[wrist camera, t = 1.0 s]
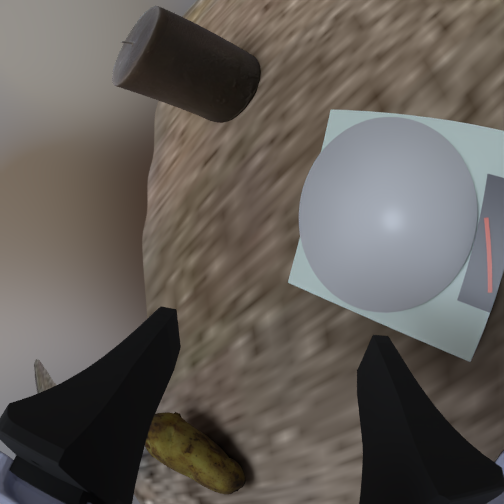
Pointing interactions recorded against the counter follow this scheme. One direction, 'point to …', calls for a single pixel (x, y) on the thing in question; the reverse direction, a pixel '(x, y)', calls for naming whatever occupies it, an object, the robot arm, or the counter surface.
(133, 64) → the pillar candle
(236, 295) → the counter surface
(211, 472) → the potato
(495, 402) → the counter surface
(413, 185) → the scale
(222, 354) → the counter surface
